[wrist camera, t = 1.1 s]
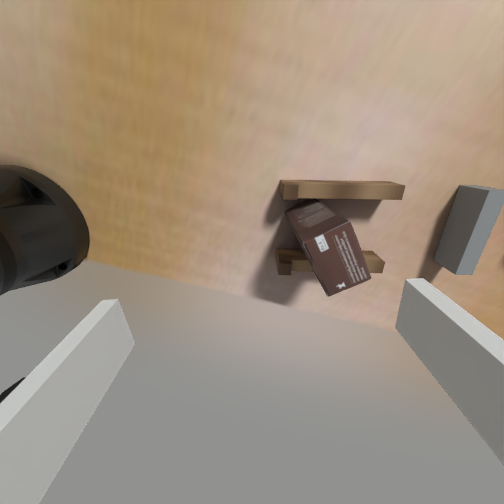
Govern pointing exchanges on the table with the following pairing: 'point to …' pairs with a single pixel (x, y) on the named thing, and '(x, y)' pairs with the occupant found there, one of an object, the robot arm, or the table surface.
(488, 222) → the end stop
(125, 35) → the table surface
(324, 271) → the box
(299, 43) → the table surface
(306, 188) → the brown piece
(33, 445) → the robot arm
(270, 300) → the table surface
